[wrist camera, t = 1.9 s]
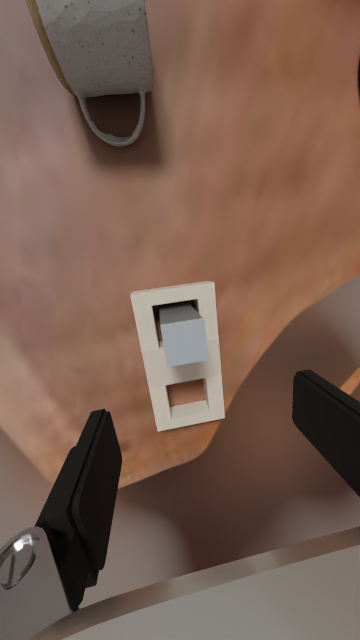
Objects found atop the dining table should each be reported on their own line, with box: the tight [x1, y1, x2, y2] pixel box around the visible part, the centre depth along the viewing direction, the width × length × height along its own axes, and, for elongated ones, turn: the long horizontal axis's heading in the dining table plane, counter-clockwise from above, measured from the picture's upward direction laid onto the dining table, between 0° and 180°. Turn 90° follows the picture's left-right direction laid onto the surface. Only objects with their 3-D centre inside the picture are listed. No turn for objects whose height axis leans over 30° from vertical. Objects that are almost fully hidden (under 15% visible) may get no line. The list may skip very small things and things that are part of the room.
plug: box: [159, 303, 209, 367], centre depth 22 cm, size 4×4×9 cm
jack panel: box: [130, 281, 225, 431], centre depth 27 cm, size 10×20×2 cm, turn 7°
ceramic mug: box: [26, 0, 153, 147], centre depth 16 cm, size 11×8×8 cm
